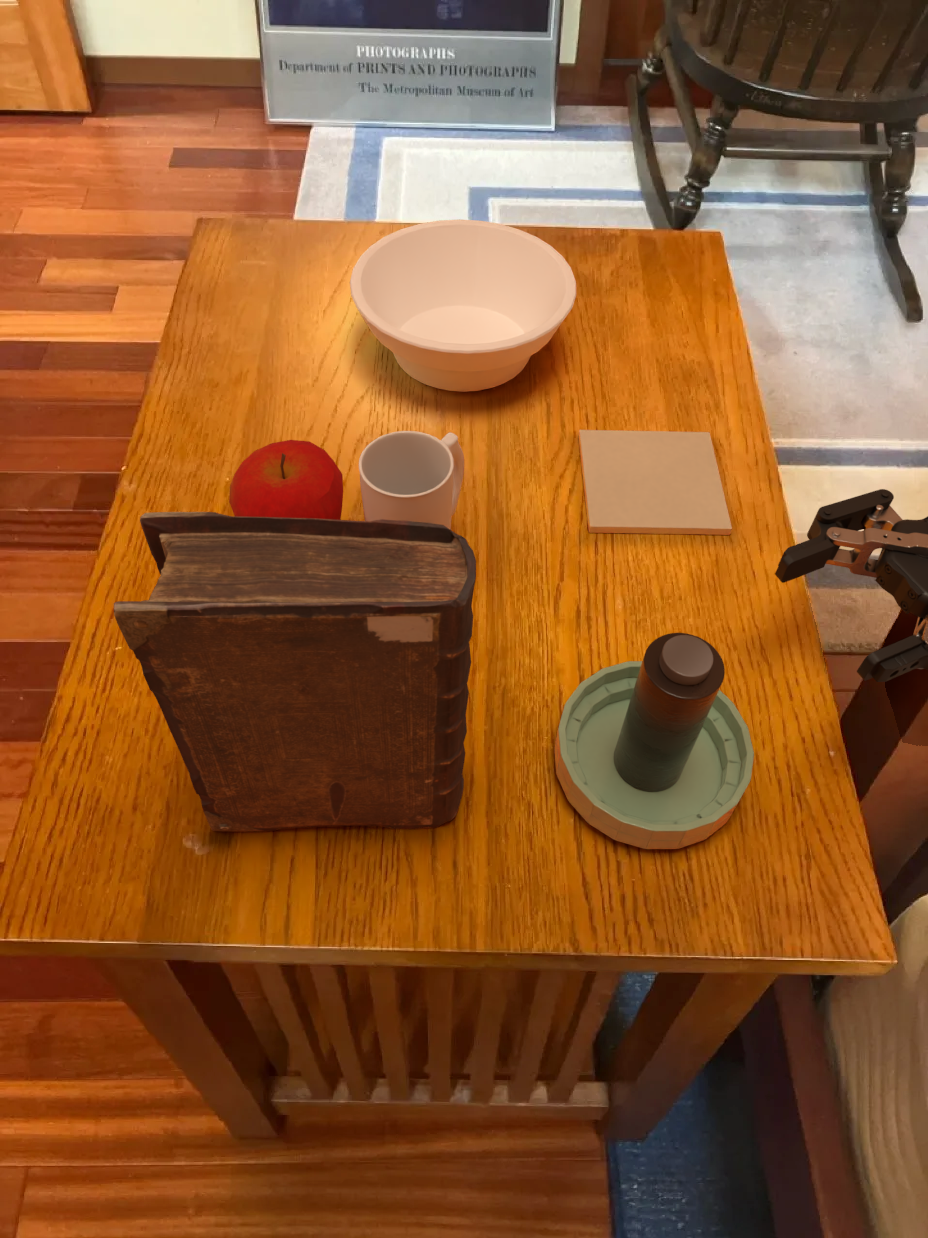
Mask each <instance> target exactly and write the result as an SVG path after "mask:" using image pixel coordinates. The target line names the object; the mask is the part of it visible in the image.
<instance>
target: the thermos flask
mask: <svg viewBox="0 0 928 1238" xmlns="http://www.w3.org/2000/svg"><path fill="white" fill-rule="evenodd" d="M641 661H642V664H641V667H640V671H639V674H638V677H637V680H636V683H635V687H634V690H633V693H632V696H631V699H630V703H629V706H628V709H627V712H626V715H625V719H624V722H623V725H622V728H621V731H620V735H619V738H618V741H617V744H616V748H615V751H614V764H615V767H616V770H617V772H618V773H619V775H620V776H621V778H622V779H623V780H624V781H625V782H627V783H628V784H629V785H631V786H632V787H634V788H636V789H639V790H642V791H646V792H659V791H663V790H666V789H668V788H670V787H671V786H673V785H674V784H675V783H676V782H677V781H678V779H679V778H680V776H681V774H682V771H683V769H684V767H685V765H686V762H687V760H688V758H689V756H690V754H691V751H692V749H693V747H694V745H695V742H696V740H697V738H698V736H699V734H700V731H701V729H702V727H703V725H704V722H705V720H706V718H707V716H708V713H709V711H710V709H711V707H712V705H713V702H714V700H715V698H716V696H717V693H718V691H719V690H721V687H722V684H723V682H724V679H725V673H726V669H725V663H724V660H723V658H722V656H721V654H720V653H719V652H718V650H717V649H716V648H715V647H714V646H713V645H712V644H711V643H709V642H708V641H707V640H705V639H703V638H702V637H699V636H698V635H694V634H691V633H687V632H671V633H666V634H663V635H661V636H659V637H657V638H655V639H654V640H653V641H652V642H650V643H649V645H648V646H647V648H646V650H645V652H644V655H643V658H642V660H641Z"/></svg>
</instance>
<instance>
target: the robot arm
mask: <svg viewBox="0 0 928 1238" xmlns="http://www.w3.org/2000/svg"><path fill="white" fill-rule="evenodd" d="M894 498H895V496H894V494H893V492H892V491H890V490H888V489H885V488H879V489H877V490H873V491H870V492H867V493H866V492H865V493H864V494H860V495H856V496H854V497H850V498H846V499H843V500H840V501H837V502H833V503H830V504H827V505H823V506H821V507H819V508H818V510H817V512H816V514H815V516H814V519H813V520H812V522H811V525H810V527H809V529H808V531H807V533H806V535H807V536H806V537H807V539H808V540H805V541H801V542H800V543H796V544H794V545H792V546H789V547H787V548H786V549H785V551H784V552H783V553H782V556H781V558H780V560H779V562H778V564H777V566H778V567H777V569H776V571H775V573H774V575H775V576H776V578H777V579H778V580H779V581H780V582H781V584H785V583H787V582H790V581H793V580H795V579H797V578H799V577H803V576H805V575H808V574H810V573H813V572H815V571H818V570H821V569H823V568H824V567H825V566H826V565H830V566H836V567H841V568H846V569H848V570H849V571H850V573H851V574H854V575H857V576H863V577H870V578H875V579H874V581H875V582H876V583H877V584H878V585H879V586H880V587H881V589H882V590H883V591H885V592H887V593H888V594H890V595H891V597H892V598H893V599H894V601H895V603H896V604H897V606H898V607H899V608H900V609H901V610H902V611H903V613H904V614H905V615H907V614H912V615H913V616H915V617H917V620H916V624H915V627H914V630H913V634H912V635H909V636H908V637H905V638H903V639H901V640H898V641H896V642H893V643H891V644H888V645H887V646H884V647H882V648H879V649H877V650H874V651H872V652H870V653H869V654H868V655H867V656H866V657H865V658H864V659H863V660H862V662H861V664H860V665H859V666H858V668H857V670H856V673H857V674H858V675H859V676H860V678H862V680H863V681H868V680H871V679H874V681H875V682H877V683H886V682H888V681H890V680H893V679H895V678H897V677H900V676H902V675H904V674H907V673H909V672H911V671H913V670H916V669H917V670H926V671H928V516H926V517H924V518H921V519H908V518H907V519H903V518H902V517H901V516H900V515H899V514H898V512H896V511H895V510H894V508H893V507H892V506H891V504H892V502H893V500H894ZM841 547H844V548H851V549H844V548H841ZM878 549H881V550H880V553H879V556H878V558H877V559H876V558H875V559H874V558H870V557H871V556H872V554H873V552H874V551H875V550H878Z"/></svg>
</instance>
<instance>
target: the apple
mask: <svg viewBox="0 0 928 1238" xmlns="http://www.w3.org/2000/svg"><path fill="white" fill-rule="evenodd" d="M343 477H344V476H343V472H342V471H341V470H340V468H339V466H338V465H337V464H336V462H335V461H334V459H333V458H332V457H331V456H330V455H329V453H328V452H327V451H326V450H325V449H323V448H322V447H320V446H318V445H317V444H315V443H313V442H311V441H308V440H295V439H288V440H287V439H286V440H282V441H277V442H271V443H269V444H267V445H264V446H262V447H260V448H258V449H255V450H254V451H252V452H251V454H249V455H248V456H247V457H246V458H245V459H244V460H243V461H242V462H241V463H240V464H239V466H238V468H237V470H236V471H235V472H234V474H233V477H232V480H231V482H230V484H229V495H228V496H229V498H228V503H229V506H230V508H231V511H232V513H233V516H238V517H284V518H317V519H335V520H342V513H343V512H342V511H343V500H344V499H343V498H344V479H343Z"/></svg>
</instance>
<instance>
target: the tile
mask: <svg viewBox="0 0 928 1238" xmlns="http://www.w3.org/2000/svg"><path fill="white" fill-rule="evenodd" d="M577 438H578V444H579V455H580V465H581V472H582V473H581V474H582V482H583V483H582V484H583V491H584V502H585V511H586V519H587V529H588V533H591V534H594V533H595V534H643V535H644V534H645V535H646V534H648V535H649V534H651V535H654V534H655V535H709V536H710V535H711V536H713V535H715V536H716V535H717V536H730V535H731V534H732V530H733V526H732V522H731V517H730V513H729V509H728V504H727V501H726V497H725V496H726V495H725V493H724V488H723V483H722V479H721V476H720V471H719V466H718V462H717V458H716V453H715V450H714V445H713V439H712V436H711V432H710V431H677V430H676V431H673V430H670V431H669V430H622V429H621V430H619V429H618V430H615V429H613V430H611V429H607V430H606V429H579V431H578V437H577Z"/></svg>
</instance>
